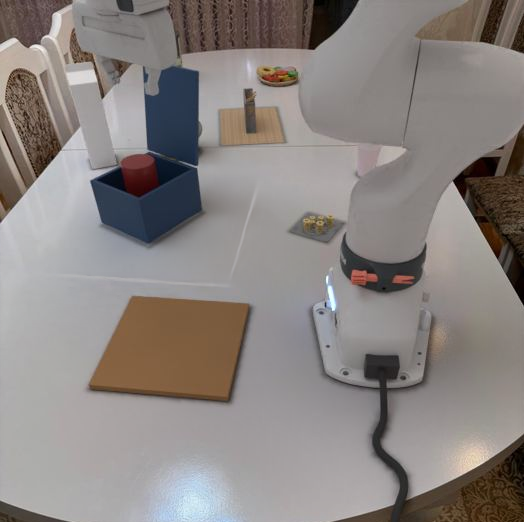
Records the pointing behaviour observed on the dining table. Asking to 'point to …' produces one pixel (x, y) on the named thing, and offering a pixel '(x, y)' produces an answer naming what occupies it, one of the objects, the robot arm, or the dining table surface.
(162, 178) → the cooler
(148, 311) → the mat
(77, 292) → the dining table surface
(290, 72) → the toy food set
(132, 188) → the can
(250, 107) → the ruin model on sheet
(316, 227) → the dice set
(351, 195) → the robot arm
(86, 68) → the milk
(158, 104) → the cooler lid
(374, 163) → the smoothie
